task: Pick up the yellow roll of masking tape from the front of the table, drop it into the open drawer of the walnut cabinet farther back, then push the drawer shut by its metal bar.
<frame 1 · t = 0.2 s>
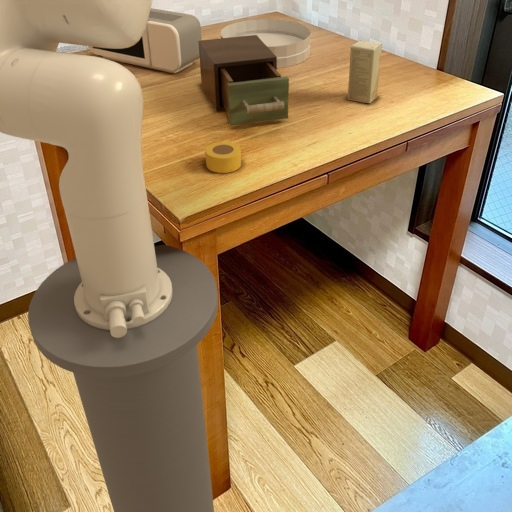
alarm clock: (145, 62, 143), on the table
cabinet: (237, 94, 126), on the table
drawer: (252, 93, 114), point 5 cm above the table, slide at 8.0 cm
box: (361, 99, 124), on the table
dish: (265, 53, 147), on the table
tape: (223, 164, 102), on the table
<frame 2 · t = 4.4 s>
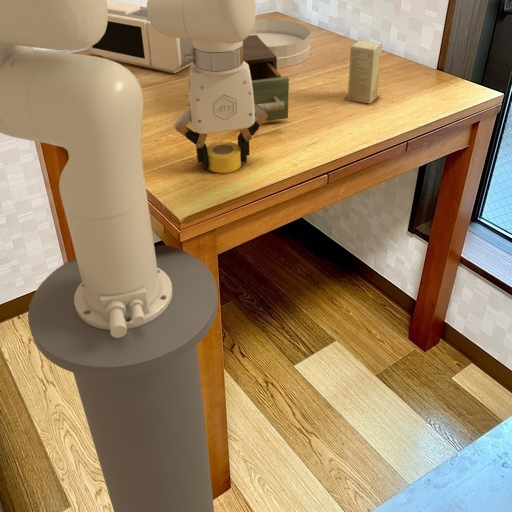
hand: (223, 161, 101), 1 cm above the table, tool pointing down, fingers closed on tape, 6 cm apart
tape: (223, 164, 102), on the table, touching gripper
everything else where it was.
when the fingers open (9 cm above the table, at t = 10.3 s): tape drops 6 cm, resting on drawer.
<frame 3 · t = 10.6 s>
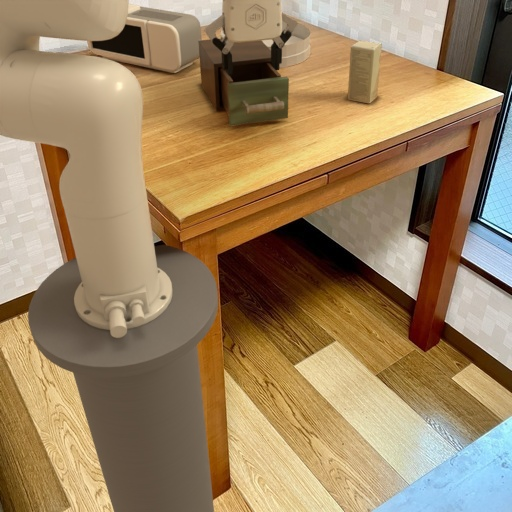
hand: (252, 70, 111), 9 cm above the table, tool pointing down, fingers open, 8 cm apart
drawer: (252, 93, 114), point 5 cm above the table, slide at 8.0 cm, touching tape
tape: (254, 107, 116), point 2 cm above the table, touching drawer
everything else where it was.
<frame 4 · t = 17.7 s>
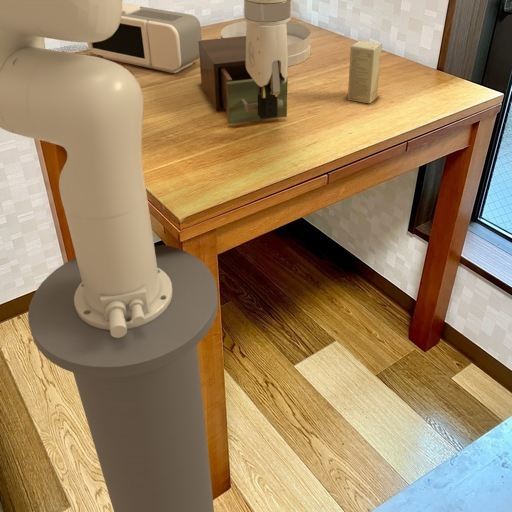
hand: (267, 116, 107), 4 cm above the table, tool pointing down, fingers closed
drawer: (251, 91, 115), point 5 cm above the table, slide at 7.3 cm, touching gripper, tape
everything else where it was.
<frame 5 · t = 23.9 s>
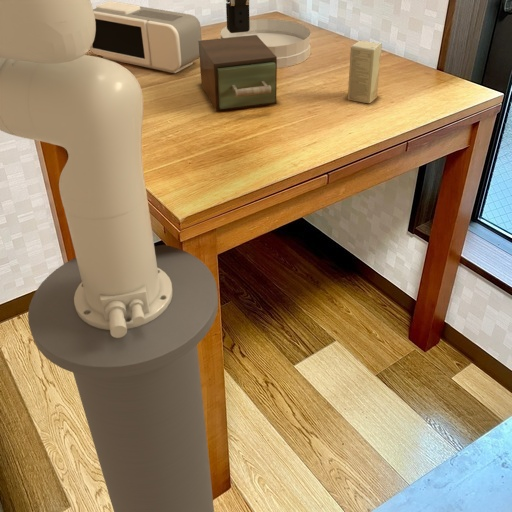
hand: (238, 30, 92), 21 cm above the table, tool pointing down, fingers closed
drawer: (241, 78, 120), point 5 cm above the table, slide at 0.0 cm, touching tape
tape: (243, 91, 122), point 2 cm above the table, touching drawer
everything else where it was.
at the end: tape inside the target area in the cabinet (3.5 cm from its centre), point 2.0 cm above the cabinet's base; drawer slide at 0.0 cm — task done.
